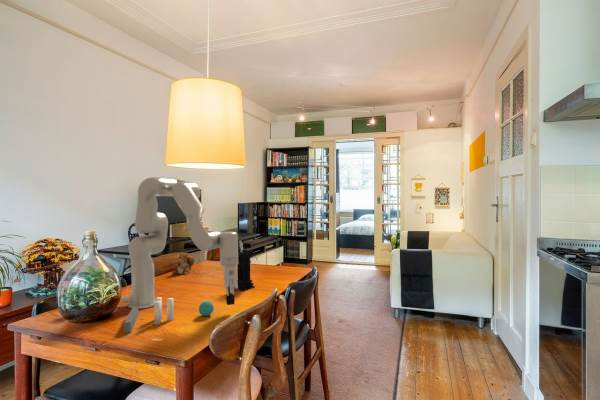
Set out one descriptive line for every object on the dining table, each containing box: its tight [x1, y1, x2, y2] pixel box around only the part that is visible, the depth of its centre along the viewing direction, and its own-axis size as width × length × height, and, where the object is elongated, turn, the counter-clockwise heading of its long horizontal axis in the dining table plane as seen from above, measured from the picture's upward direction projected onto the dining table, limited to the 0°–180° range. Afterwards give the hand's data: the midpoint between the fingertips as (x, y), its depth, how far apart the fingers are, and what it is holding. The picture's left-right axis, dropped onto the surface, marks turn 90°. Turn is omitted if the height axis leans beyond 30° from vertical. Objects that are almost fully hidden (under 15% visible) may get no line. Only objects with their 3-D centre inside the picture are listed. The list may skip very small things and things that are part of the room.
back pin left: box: [155, 296, 163, 320], centre depth 134 cm, size 2×2×8 cm
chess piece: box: [234, 249, 255, 291], centre depth 178 cm, size 8×8×20 cm
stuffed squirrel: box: [171, 252, 196, 276], centre depth 214 cm, size 10×14×13 cm
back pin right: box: [153, 301, 162, 326], centre depth 129 cm, size 2×2×8 cm
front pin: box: [166, 297, 175, 322], centre depth 133 cm, size 2×2×8 cm
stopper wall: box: [123, 306, 139, 334], centre depth 128 cm, size 2×18×4 cm, turn 18°
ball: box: [198, 300, 215, 317], centre depth 137 cm, size 6×6×6 cm
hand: (230, 304), depth 140 cm, fingers closed
